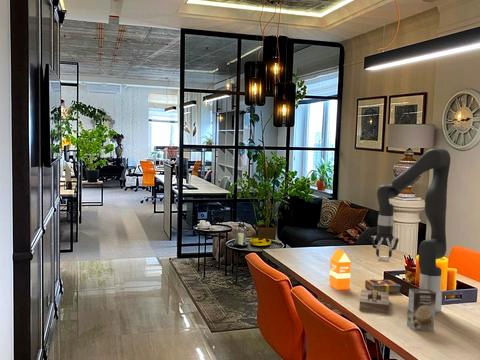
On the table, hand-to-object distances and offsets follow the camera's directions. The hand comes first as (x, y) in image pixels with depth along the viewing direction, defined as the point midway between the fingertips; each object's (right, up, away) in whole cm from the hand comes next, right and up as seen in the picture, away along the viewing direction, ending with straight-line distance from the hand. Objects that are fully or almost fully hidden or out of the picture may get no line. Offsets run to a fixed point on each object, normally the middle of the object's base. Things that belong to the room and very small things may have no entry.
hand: (383, 256), depth 242 cm
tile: (-1, -2, -3) cm, 3 cm away
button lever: (-9, -19, -14) cm, 25 cm away
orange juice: (-20, -18, +13) cm, 30 cm away
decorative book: (+2, -20, +8) cm, 22 cm away
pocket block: (-9, -21, -16) cm, 28 cm away
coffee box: (+2, -23, -44) cm, 49 cm away
